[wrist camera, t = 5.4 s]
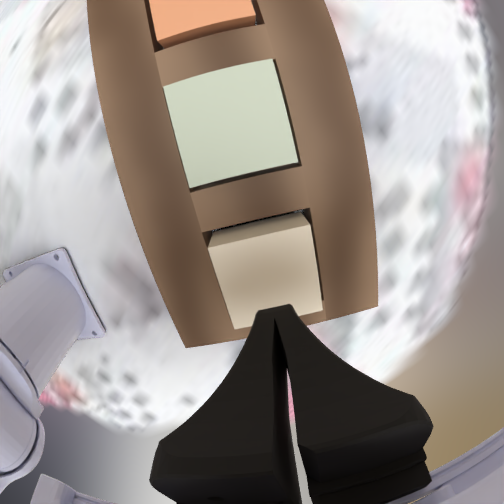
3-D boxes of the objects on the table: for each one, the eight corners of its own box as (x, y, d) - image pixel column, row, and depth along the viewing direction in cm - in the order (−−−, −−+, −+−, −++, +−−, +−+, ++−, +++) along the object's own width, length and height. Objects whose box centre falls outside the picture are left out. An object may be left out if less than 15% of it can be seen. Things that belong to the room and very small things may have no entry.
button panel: (191, 326, 20) (185, 348, 18) (102, 4, 11) (86, -9, 8) (364, 288, 19) (377, 306, 17) (287, -45, 10) (292, -64, 7)
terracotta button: (169, 53, 12) (157, 40, 10) (156, -5, 11) (145, -22, 8) (254, 32, 12) (255, 15, 10) (235, -25, 10) (233, -46, 8)
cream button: (236, 305, 18) (234, 329, 15) (213, 231, 16) (207, 248, 13) (313, 288, 17) (322, 310, 15) (300, 211, 15) (310, 224, 13)
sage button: (198, 180, 15) (189, 188, 12) (176, 94, 13) (163, 86, 10) (289, 158, 14) (298, 162, 12) (268, 71, 12) (272, 58, 10)
